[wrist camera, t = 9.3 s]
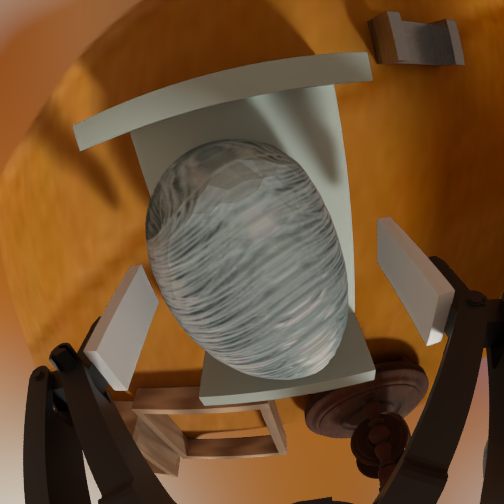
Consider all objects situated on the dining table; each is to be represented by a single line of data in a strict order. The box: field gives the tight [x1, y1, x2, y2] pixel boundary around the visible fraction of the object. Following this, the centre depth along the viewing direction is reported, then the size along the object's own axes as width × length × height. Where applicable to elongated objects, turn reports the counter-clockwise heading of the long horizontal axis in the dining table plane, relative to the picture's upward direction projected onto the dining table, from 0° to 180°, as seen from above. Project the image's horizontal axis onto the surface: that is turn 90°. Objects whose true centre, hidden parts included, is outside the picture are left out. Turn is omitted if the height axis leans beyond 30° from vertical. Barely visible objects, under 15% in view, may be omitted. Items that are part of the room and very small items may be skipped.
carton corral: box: [114, 401, 180, 477], centre depth 32 cm, size 13×13×6 cm
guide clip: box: [368, 11, 465, 66], centre depth 12 cm, size 5×3×3 cm, turn 102°
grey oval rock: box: [146, 139, 348, 380], centre depth 15 cm, size 14×10×10 cm
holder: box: [73, 52, 376, 406], centre depth 17 cm, size 12×19×7 cm, turn 12°
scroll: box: [305, 355, 429, 492], centre depth 21 cm, size 15×15×20 cm
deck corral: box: [131, 386, 287, 459], centre depth 31 cm, size 15×15×3 cm
